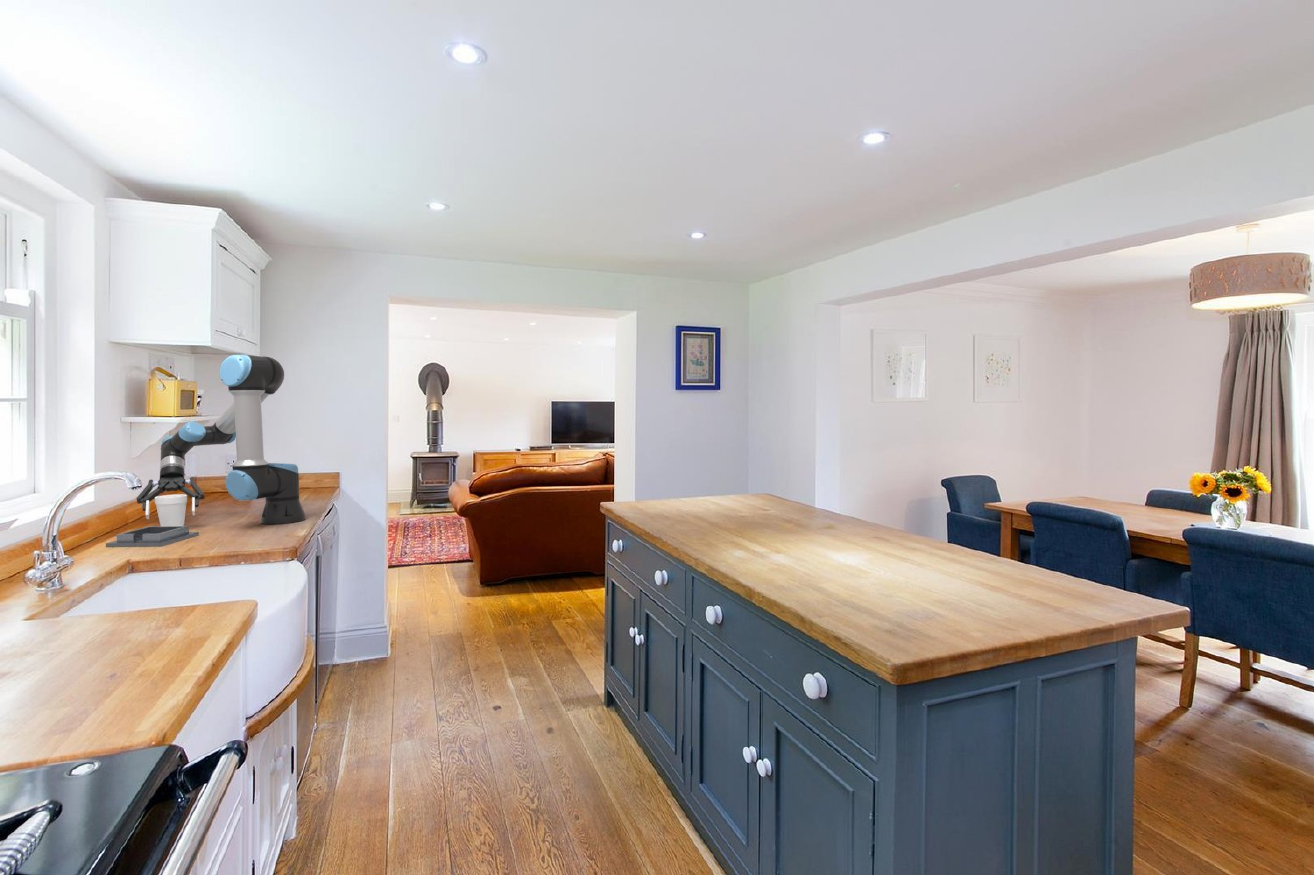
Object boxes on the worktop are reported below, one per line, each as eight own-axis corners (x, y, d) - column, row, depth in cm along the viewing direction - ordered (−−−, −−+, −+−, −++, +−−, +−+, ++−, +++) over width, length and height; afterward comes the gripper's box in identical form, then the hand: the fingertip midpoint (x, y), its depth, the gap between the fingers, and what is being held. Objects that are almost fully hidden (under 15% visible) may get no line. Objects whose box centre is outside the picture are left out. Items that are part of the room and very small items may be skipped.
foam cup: (194, 529, 243) (192, 494, 242) (168, 534, 234) (166, 498, 233) (176, 528, 246) (174, 493, 245) (150, 532, 237) (148, 497, 236)
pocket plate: (147, 535, 232) (147, 525, 232) (198, 535, 232) (198, 524, 232) (105, 547, 214) (105, 535, 214) (161, 546, 214) (160, 535, 214)
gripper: (212, 474, 259) (212, 517, 247) (132, 479, 246) (128, 524, 234) (211, 462, 254) (211, 505, 243) (129, 466, 241) (125, 512, 229)
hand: (170, 515), depth 238 cm, fingers open, 13 cm apart
